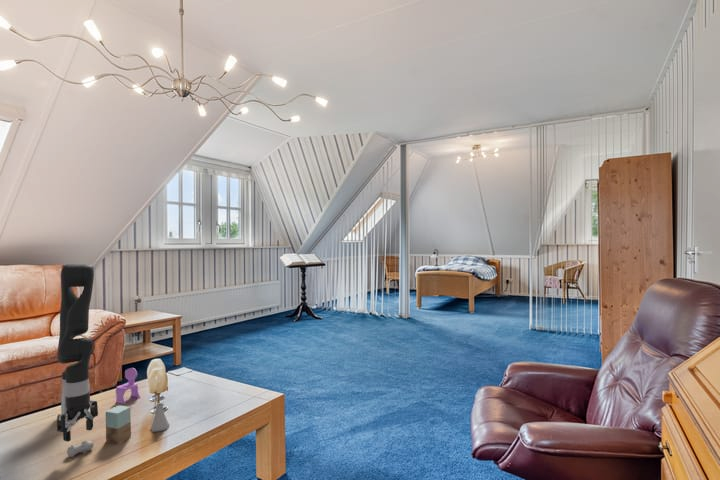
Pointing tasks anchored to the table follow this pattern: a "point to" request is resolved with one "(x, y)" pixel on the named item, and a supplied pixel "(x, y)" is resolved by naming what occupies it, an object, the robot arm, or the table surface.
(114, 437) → the tower bottom
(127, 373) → the purple figure shape
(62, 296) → the robot arm
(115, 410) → the tower top
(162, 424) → the flask
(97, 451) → the table surface
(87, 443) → the mannequin head
